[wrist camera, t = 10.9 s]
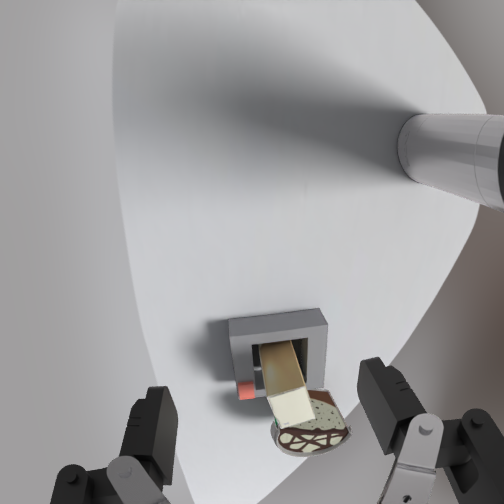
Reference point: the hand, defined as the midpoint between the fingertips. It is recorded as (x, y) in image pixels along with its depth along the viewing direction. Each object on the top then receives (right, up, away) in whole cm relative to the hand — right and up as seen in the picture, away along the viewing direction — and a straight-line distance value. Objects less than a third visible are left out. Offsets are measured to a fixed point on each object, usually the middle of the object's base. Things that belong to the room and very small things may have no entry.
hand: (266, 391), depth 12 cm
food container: (+6, -18, +35) cm, 40 cm away
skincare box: (+3, -7, +31) cm, 32 cm away
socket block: (+3, -8, +31) cm, 32 cm away
